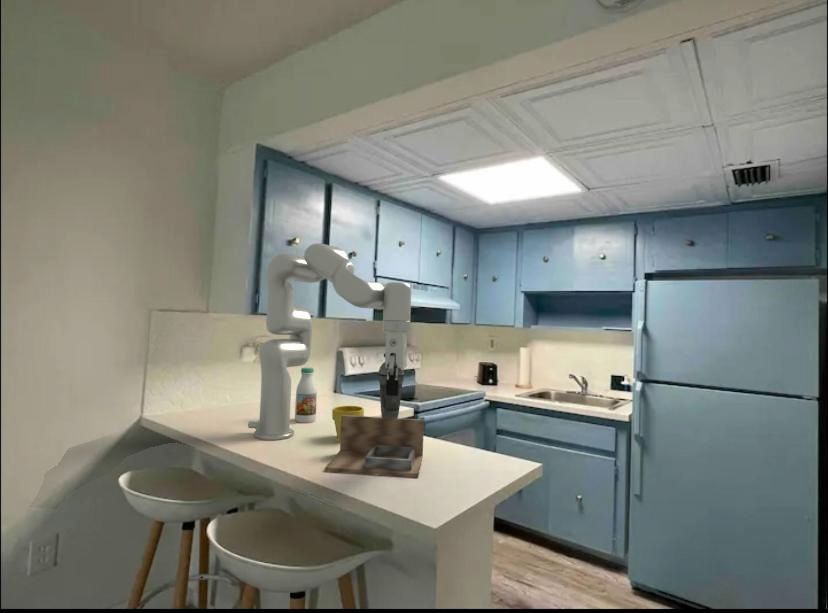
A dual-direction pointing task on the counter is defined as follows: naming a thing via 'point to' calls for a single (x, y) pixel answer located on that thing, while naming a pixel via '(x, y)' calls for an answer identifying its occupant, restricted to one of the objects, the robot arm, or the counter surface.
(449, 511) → the counter surface
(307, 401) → the milk bottle
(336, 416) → the plant pot
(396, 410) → the beverage cup
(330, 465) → the cup bracket
